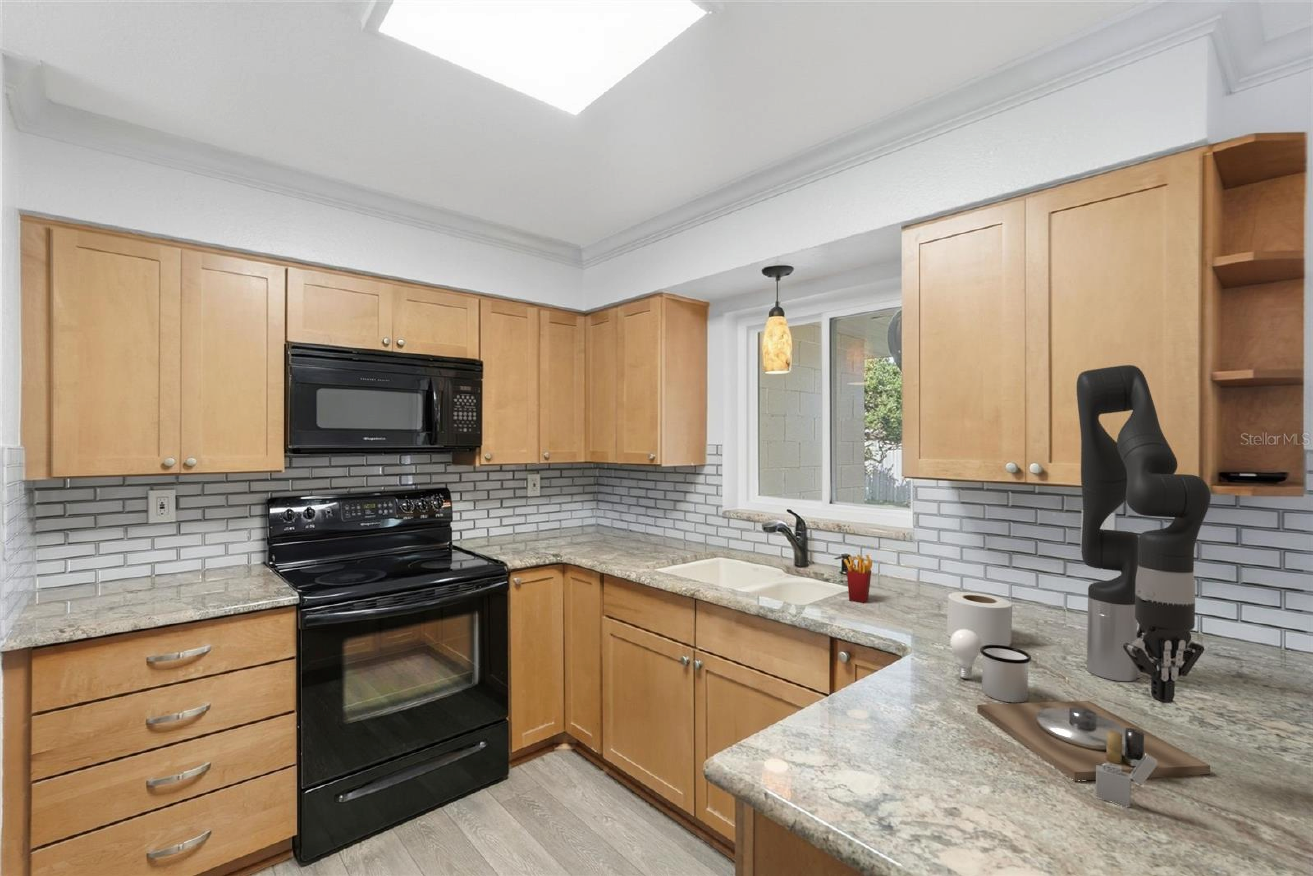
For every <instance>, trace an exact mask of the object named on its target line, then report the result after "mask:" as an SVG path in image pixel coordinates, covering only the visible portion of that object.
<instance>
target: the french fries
mask: <svg viewBox="0 0 1313 876" xmlns="http://www.w3.org/2000/svg"><path fill="white" fill-rule="evenodd" d="M856 558H857V564H856V563H855V560H856ZM865 558H866V562H865ZM865 558H864V557H862V556H861V555H860V554H857V555H856V556H855V555H854V556H853V557H852V556H848V559H849V561H848V559H847V558H844V559H843V562H844V563H845V565H846V567H847V570H846V577H847V579H846V580H847V587H848V588H847V589H848V601H849V602H854V603H861V604H865V603H866V602H867V601H869V596H870V595H869V593H870V586H871V579H872V567H873V561H872V559H871V558H870V556H869V554H866V555H865ZM849 562H850V563H849Z"/></svg>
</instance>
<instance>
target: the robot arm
mask: <svg viewBox="0 0 1313 876" xmlns="http://www.w3.org/2000/svg"><path fill="white" fill-rule="evenodd" d="M1076 397H1077V398H1076V401H1077V409H1078V419H1079V428H1080V440H1081V441H1080V443H1081V444H1080V446H1081V447H1080V449H1081V450H1080V483H1081V484H1080V485H1081V497H1082V528H1081V544H1080V545H1081V546H1080V547H1081V549H1080V550H1081V551H1080V552H1081V557H1082V561H1083V563H1084V564H1085V565H1086V566H1087V567H1090V568H1093V569H1098V570H1099V569H1100V570H1106V571H1114V572H1115V571H1116V572H1121V574H1119V576H1117V577H1114V578H1112V579H1110V580H1104V581H1097V582H1093V583H1090V584H1089V586H1088V589H1087V623H1086V625H1087V627H1086V628H1087V631H1086V633H1087V634H1086V635H1087V636H1086V639H1087V641H1086V670H1087V671H1088V672H1089V673H1091V674H1092V675H1094V676H1097V677H1099V678H1103V679H1108V680H1112V681H1119V682H1132V681H1136V680H1137V679H1141V673H1143V674H1146V675H1148V676H1149V677H1150V690H1151V691H1150V694H1151V696H1152V699H1154V700H1155V701H1157V702H1159V703H1162V704H1171V703H1173V701H1174V698H1175V694H1176V693H1175V691H1176V690H1175V689H1176V688H1175V687H1176V685H1175V684H1176V682H1175V681H1177V680H1178V678H1179V677H1181V676H1182V677H1187V675H1188V674H1189V672H1191V670H1192V668H1193V667H1194V665H1195V664H1196V663H1197V661H1198V660H1199V659H1200V657H1201V656H1202V654H1203V653H1204V651H1205V647H1204V646H1203V645H1201V644H1199V643H1196V642H1195V641H1194V640H1192V634H1191V631H1192V630H1193V629H1195V625H1196V623H1195V621H1196V619H1195V618H1196V580H1195V575H1194V570H1195V569H1194V567H1195V566H1194V565H1195V564H1194V562H1195V546H1196V542H1197V539H1198V535H1199V533H1200V530H1201V527H1202V524H1203V523H1204V519H1205V517H1206V515H1207V513H1208V511H1209V508H1210V504H1211V499H1212V498H1211V497H1212V495H1211V490H1210V487H1209V485H1208V484H1207V483H1206V481H1205V480H1204V479H1203V478H1201V477H1200V476H1197V475H1194V474H1181V473H1179V474H1178V473H1177V474H1176V472H1177V469H1178V467H1179V466H1178V459H1177V458H1176V455H1175V454H1174V451H1173V450H1172V448H1171V446H1170V444H1169V443H1168V441H1167V438H1166V437H1165V434H1164V433H1163V431H1162V428H1161V426H1160V422H1159V419H1158V414H1157V410H1156V406H1155V403H1154V400H1153V396H1152V394H1151V390H1150V386H1149V383H1148V380H1147V378H1146V377H1145V375H1144V372H1143V371H1142V370H1141V369H1140V368H1139V367H1138V366H1136V365H1131V364H1127V365H1125V364H1124V365H1117V366H1108V367H1103V368H1097V369H1095V368H1094V369H1088V370H1085V371H1082V372H1081V373H1080V374H1078V377H1077V380H1076ZM1128 411H1129V412H1130V411H1132V412H1131V414H1130V416H1129V417H1128V418H1127V420H1126V421H1125V423H1124V424H1123V426H1122V427H1121V428H1120V431H1119V432H1118V435H1117V438H1116V440H1115V439H1114V438H1113V437H1112V436H1111V435H1110V434H1109V433H1108V432H1107V431H1106V429H1105V428H1104V427H1103V425H1102V424H1101V422H1100V415H1104V414H1105V415H1106V414H1114V413H1122V412H1128ZM1125 502H1126V503H1127V505H1128V507H1129V508H1130V509H1131V510H1132V511H1133V512H1135V513H1136V514H1138V515H1140V516H1144V517H1161V518H1174V519H1173V521H1172V522H1171V523H1170V524H1169V525H1168V526H1167V527H1164V528H1161V529H1160V528H1159V529H1153V530H1147V531H1143V532H1141V533H1139V536H1138V534H1137V533H1136V532H1133V531H1127V530H1125V531H1124V530H1117V529H1116V530H1115V529H1104V528H1103V529H1102V528H1101V527H1102V525H1103V524H1104V522H1105V521H1106V519H1107V518H1108V517H1109V516H1110V515H1112V514H1113V512H1115V511H1117V510H1118V508H1119V507H1121V505H1123V504H1124V503H1125ZM1138 625H1139V626H1138Z"/></svg>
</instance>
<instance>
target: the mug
mask: <svg viewBox="0 0 1313 876" xmlns="http://www.w3.org/2000/svg"><path fill="white" fill-rule="evenodd" d="M980 654H981V655H982V665H981V666H982V667H981V669H982V670H981V671H982V672H981V674H982V675H981V691H982V692H983V694H985V695H986V696H988V697H989V698H991V697H992V698H991V699H993V698H994V700H996V701H999V700H1001V701H1000V702H1003V701H1005V702H1004V703H1009V702H1011V703H1020V702H1021V703H1025V702H1026V701H1028V696H1029V695H1028V693H1029V692H1028V691H1029V690H1028V688H1029V687H1028V686H1029V684H1028V683H1029V663H1030V662H1031V661H1032V655H1031V654H1029V653H1028V652H1026V651H1025V650H1022V649H1019V648H1016V647H1012V646H1003V645H984V646H982V647H981V648H980ZM1011 703H1010V704H1011Z"/></svg>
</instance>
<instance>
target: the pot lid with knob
mask: <svg viewBox="0 0 1313 876" xmlns="http://www.w3.org/2000/svg"><path fill="white" fill-rule="evenodd" d="M1037 724H1038V725H1039V727H1040V728H1041V729H1043V730H1044V731H1045V732H1047V733H1048V734H1050V735H1052V736H1054V737H1056V738H1058V739H1060V740H1063V741H1065V742H1068V743H1071V744H1074V745H1077V746H1081V747H1085V748H1089V749H1094V750H1101V751H1107V731H1115V732H1118V733H1120V734H1122V761H1123V762H1125V763H1127V764H1128V765H1130V766H1137V764H1138V763H1139V762H1140V760H1141V759H1142V758H1143V756H1144V733H1143V732H1141V731H1139V730H1136V729H1132V728H1126V729H1125V728H1124V727H1122V726H1121V725H1119V724H1117V723H1115V722H1113V721H1111V720H1109V719H1106V718H1104V717H1101V716H1098V715H1097V714H1096V713H1094V712H1093V711H1091V710H1088V709H1085V708H1080V707H1071V708H1070V709H1066V708H1047V709H1043V710H1040V711H1039V712H1038V713H1037Z"/></svg>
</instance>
